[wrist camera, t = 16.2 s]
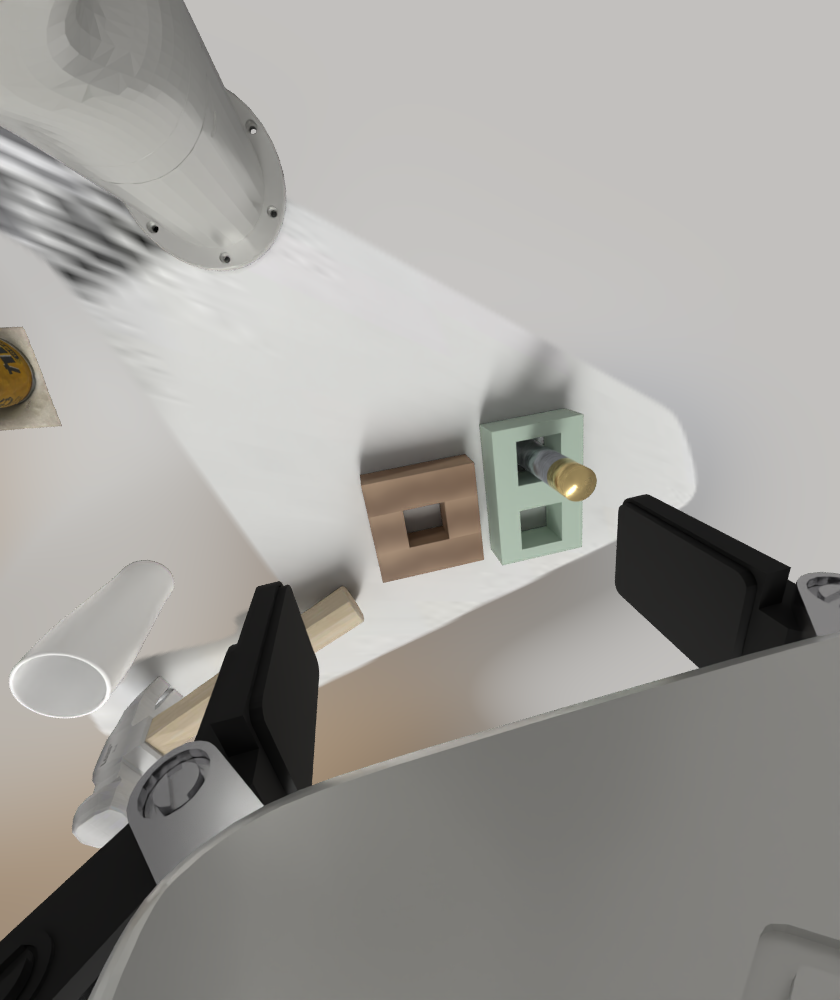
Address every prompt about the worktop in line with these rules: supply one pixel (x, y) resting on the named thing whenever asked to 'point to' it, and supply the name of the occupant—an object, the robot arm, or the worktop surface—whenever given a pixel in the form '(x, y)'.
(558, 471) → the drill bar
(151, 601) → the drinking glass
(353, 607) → the hammer
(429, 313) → the worktop surface
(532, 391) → the worktop surface
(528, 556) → the frame
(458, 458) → the socket block
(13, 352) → the condiment
